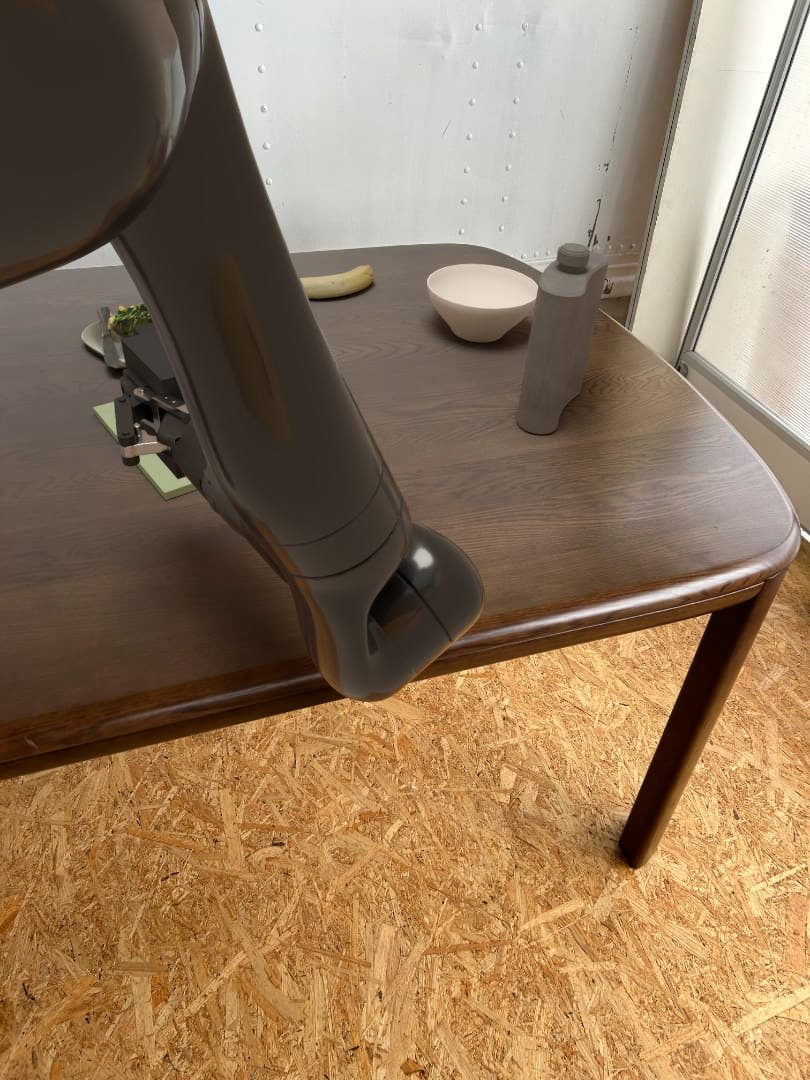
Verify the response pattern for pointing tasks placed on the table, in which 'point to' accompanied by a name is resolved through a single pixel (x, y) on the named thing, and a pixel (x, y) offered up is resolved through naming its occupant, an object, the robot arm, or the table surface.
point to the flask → (560, 336)
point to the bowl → (481, 299)
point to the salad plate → (114, 332)
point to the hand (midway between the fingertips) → (155, 372)
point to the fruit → (338, 283)
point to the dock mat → (149, 462)
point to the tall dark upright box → (152, 375)
